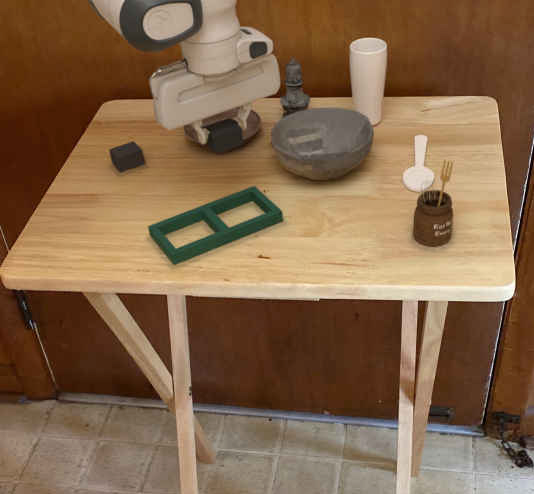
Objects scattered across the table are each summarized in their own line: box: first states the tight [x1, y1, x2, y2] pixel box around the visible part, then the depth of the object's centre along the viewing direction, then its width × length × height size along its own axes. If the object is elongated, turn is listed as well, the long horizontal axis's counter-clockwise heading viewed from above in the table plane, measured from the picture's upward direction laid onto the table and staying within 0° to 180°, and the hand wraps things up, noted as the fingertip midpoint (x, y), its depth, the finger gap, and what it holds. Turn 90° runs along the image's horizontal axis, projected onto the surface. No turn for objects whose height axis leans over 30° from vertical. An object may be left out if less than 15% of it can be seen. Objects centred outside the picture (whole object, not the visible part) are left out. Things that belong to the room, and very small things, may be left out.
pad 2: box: [202, 118, 245, 155], centre depth 128 cm, size 5×4×3 cm
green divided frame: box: [147, 185, 284, 266], centre depth 133 cm, size 20×9×2 cm, turn 120°
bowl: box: [269, 106, 375, 181], centre depth 142 cm, size 18×18×8 cm
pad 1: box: [108, 140, 146, 174], centre depth 150 cm, size 5×4×3 cm
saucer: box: [183, 107, 262, 150], centre depth 155 cm, size 15×15×3 cm
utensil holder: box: [412, 159, 454, 247], centre depth 124 cm, size 6×6×12 cm
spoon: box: [402, 134, 435, 193], centre depth 143 cm, size 5×18×1 cm, turn 170°
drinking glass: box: [348, 37, 388, 127], centre depth 151 cm, size 7×7×15 cm
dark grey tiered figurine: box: [279, 57, 311, 118], centre depth 155 cm, size 6×6×12 cm
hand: (223, 135), depth 128 cm, fingers closed on pad 2, 5 cm apart
